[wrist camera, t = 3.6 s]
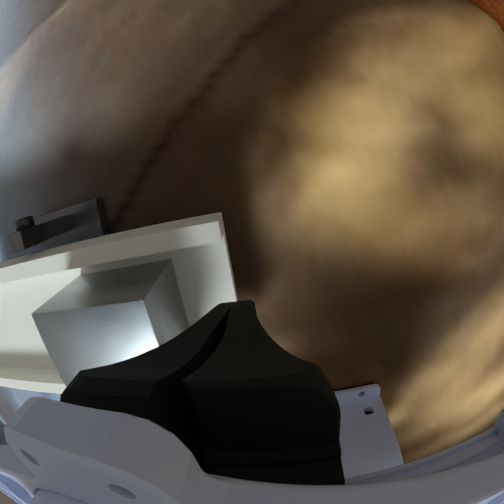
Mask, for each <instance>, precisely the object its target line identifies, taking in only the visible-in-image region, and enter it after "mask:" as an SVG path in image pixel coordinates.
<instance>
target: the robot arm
mask: <svg viewBox="0 0 504 504" xmlns="http://www.w3.org/2000/svg"><path fill="white" fill-rule="evenodd" d="M380 391H381V388H380V386H379V385H378V384H371V385H367V386H362V387H357V388H352V389H346V390H341V391H335V392H334V391H333V389H332V387H331V385H330V383H329V382H328V380H327V378H326V377H325V375H324V374H323V372H322V371H321V369H320V368H319V366H317V365H316V364H313V363H310V362H307V361H305V360H302V359H299V358H297V357H295V356H293V355H291V354H290V353H288V352H287V351H285V350H284V349H283V348H281V347H280V346H279V345H278V344H277V343H276V342H275V341H274V340H273V339H272V338H271V337H270V336H269V335H268V334H267V332H266V331H265V330H264V328H263V327H262V325H261V324H260V322H259V320H258V318H257V315H256V309H255V303H254V302H253V301H252V300H244V301H235V302H226V303H220V304H218V305H217V306H215V307H214V308H213V309H211V310H210V311H209V312H208V313H207V314H205V315H204V316H203V317H202V318H200V319H199V320H198V321H197V322H196V323H194V324H193V325H191V326H190V327H189V328H187V329H186V330H185V331H183V332H182V333H180V334H179V335H177V336H176V337H174V338H173V339H171V340H169V341H168V342H166V343H164V344H162V345H160V346H158V347H156V348H154V349H152V350H150V351H147V352H145V353H143V354H141V355H138V356H136V357H133V358H130V359H127V360H124V361H121V362H117V363H114V364H110V365H106V366H101V367H96V368H91V369H85V370H80V371H79V372H78V373H77V375H76V376H75V377H74V379H73V380H72V381H71V382H70V383H69V385H68V386H67V387H66V388H65V390H64V391H63V392H62V394H61V398H60V402H59V401H55V400H51V399H47V398H43V397H33V398H28V400H27V401H26V402H25V403H24V404H23V405H22V407H21V408H20V409H19V410H18V411H17V412H16V414H15V415H14V416H13V417H12V418H11V419H10V421H9V422H8V423H7V424H6V426H5V424H4V423H3V422H2V421H1V420H0V490H1V491H2V492H4V493H5V494H6V495H7V496H9V497H10V498H12V499H13V500H14V501H16V502H17V503H19V504H504V410H503V411H502V412H501V413H500V415H499V417H498V418H497V421H496V423H495V426H494V427H492V428H490V429H489V430H487V431H485V432H483V433H481V434H479V435H477V436H475V437H472V438H470V439H468V440H466V441H464V442H462V443H459V444H457V445H455V446H452V447H450V448H448V449H445V450H443V451H440V452H437V453H435V454H432V455H429V456H427V457H424V458H421V459H418V460H415V461H412V462H409V463H406V464H403V458H402V454H401V450H400V447H399V444H398V441H397V439H396V436H395V433H394V430H393V428H392V425H391V423H390V420H389V417H388V415H387V412H386V410H385V407H384V404H383V402H382V399H381V397H380ZM360 392H362V393H360Z"/></svg>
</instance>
